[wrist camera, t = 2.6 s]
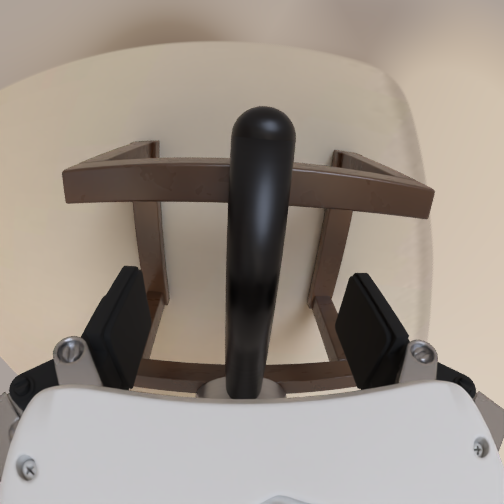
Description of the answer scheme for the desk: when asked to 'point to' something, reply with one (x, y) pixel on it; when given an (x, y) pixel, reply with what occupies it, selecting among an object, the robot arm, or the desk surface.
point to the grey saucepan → (254, 250)
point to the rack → (217, 190)
